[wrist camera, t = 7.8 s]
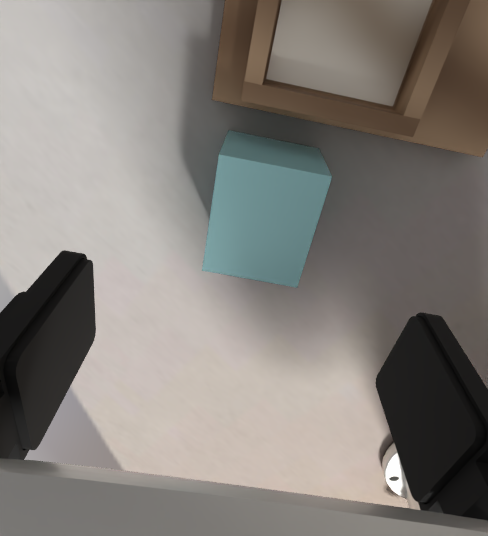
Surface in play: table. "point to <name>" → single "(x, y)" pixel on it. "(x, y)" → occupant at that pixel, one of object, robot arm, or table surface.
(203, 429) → the table surface
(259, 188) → the teal nearly cubic block
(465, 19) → the chassis
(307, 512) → the robot arm
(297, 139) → the table surface
